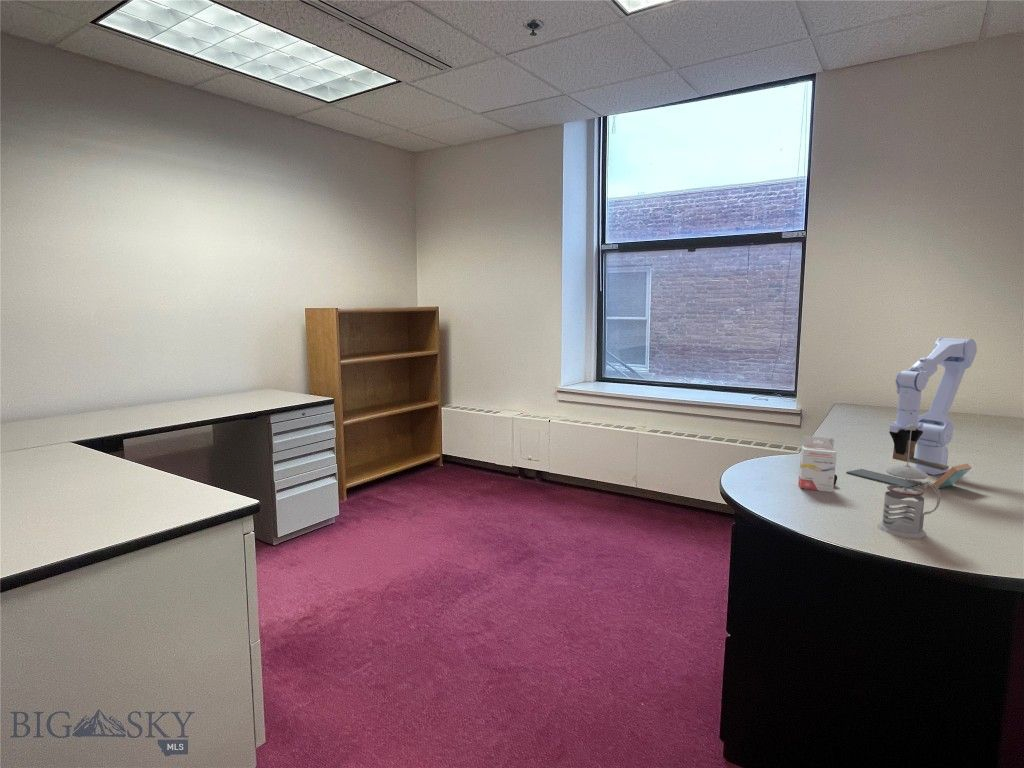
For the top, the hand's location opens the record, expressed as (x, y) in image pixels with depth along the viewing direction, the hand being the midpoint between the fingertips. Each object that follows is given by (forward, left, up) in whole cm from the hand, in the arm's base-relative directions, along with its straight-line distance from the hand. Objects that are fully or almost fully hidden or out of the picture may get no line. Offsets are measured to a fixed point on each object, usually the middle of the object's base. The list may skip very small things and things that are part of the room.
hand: (904, 453), depth 184 cm
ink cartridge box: (+37, -4, -8) cm, 37 cm away
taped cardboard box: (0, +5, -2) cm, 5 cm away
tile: (0, +11, -7) cm, 13 cm away
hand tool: (+25, -12, -8) cm, 29 cm away
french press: (+49, +27, -8) cm, 56 cm away
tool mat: (+9, -1, -7) cm, 11 cm away
